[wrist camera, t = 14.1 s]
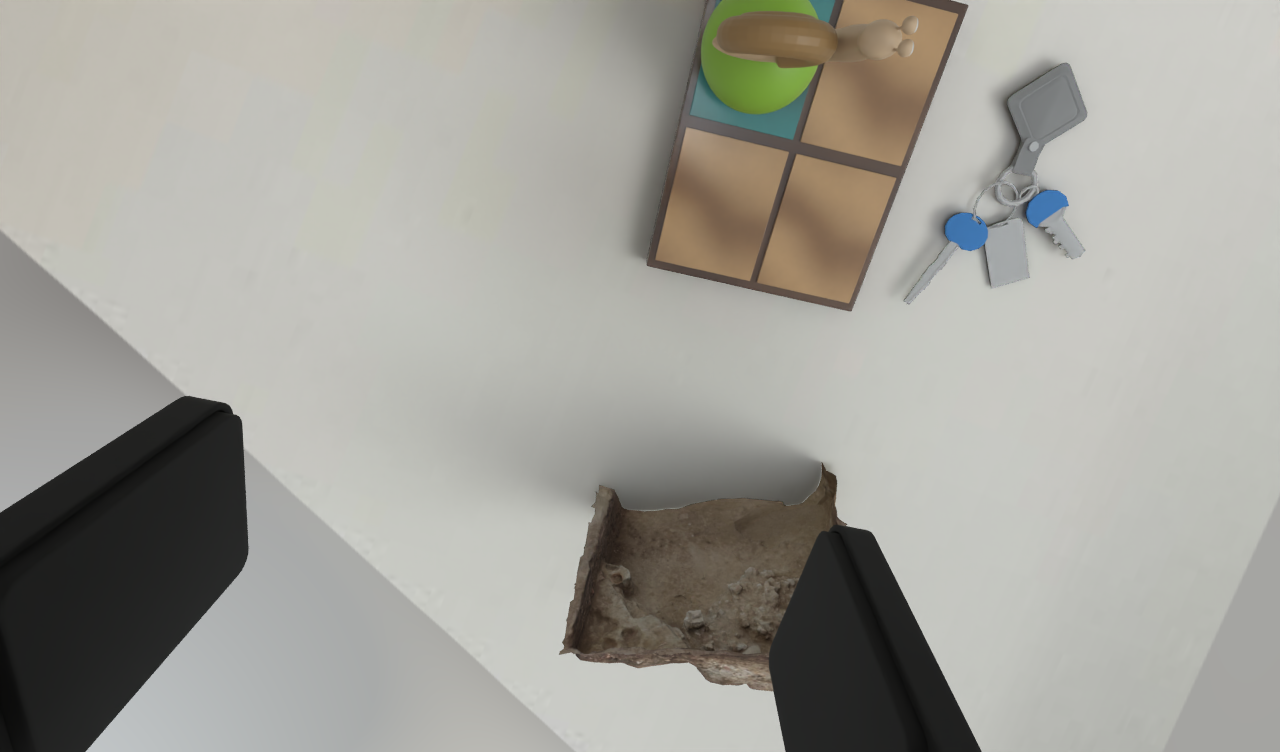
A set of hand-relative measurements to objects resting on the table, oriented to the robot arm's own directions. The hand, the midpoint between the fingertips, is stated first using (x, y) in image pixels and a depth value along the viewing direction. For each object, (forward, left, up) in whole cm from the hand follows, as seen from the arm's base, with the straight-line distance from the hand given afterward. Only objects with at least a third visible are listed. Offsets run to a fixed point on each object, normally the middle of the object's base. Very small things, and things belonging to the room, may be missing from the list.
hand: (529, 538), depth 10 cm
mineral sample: (+17, +10, -28) cm, 35 cm away
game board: (-6, +8, -28) cm, 30 cm away
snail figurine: (-10, +5, -27) cm, 29 cm away
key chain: (-6, +22, -28) cm, 36 cm away
